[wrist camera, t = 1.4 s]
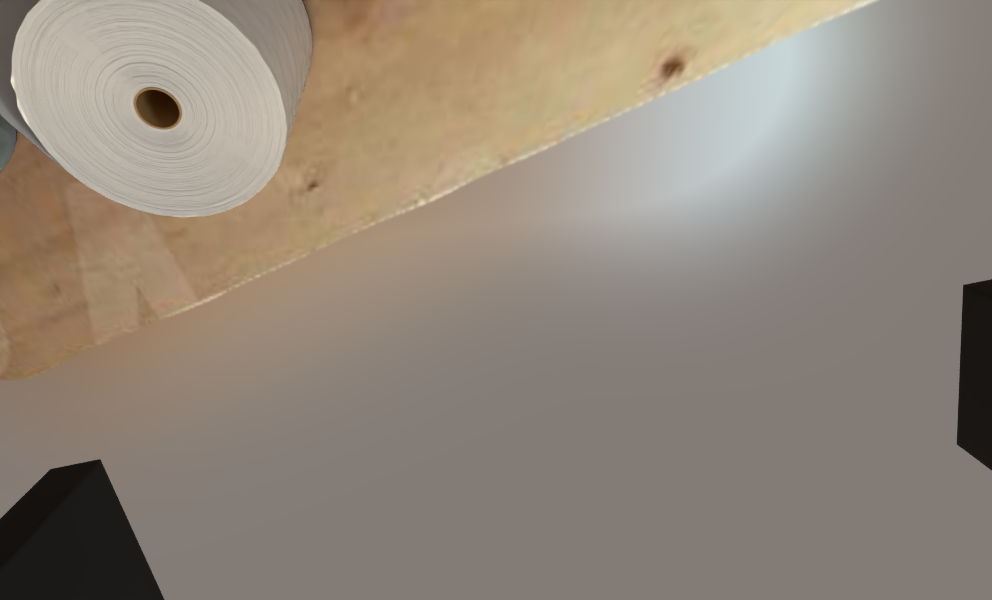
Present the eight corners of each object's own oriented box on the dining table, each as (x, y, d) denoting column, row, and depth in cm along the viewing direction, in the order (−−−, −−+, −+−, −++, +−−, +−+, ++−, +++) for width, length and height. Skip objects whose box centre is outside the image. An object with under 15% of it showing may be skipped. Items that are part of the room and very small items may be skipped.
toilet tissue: (336, 109, 39) (317, 201, 32) (132, 139, 39) (65, 237, 32) (277, -99, 32) (234, -46, 25) (30, -63, 32) (-89, 2, 25)
